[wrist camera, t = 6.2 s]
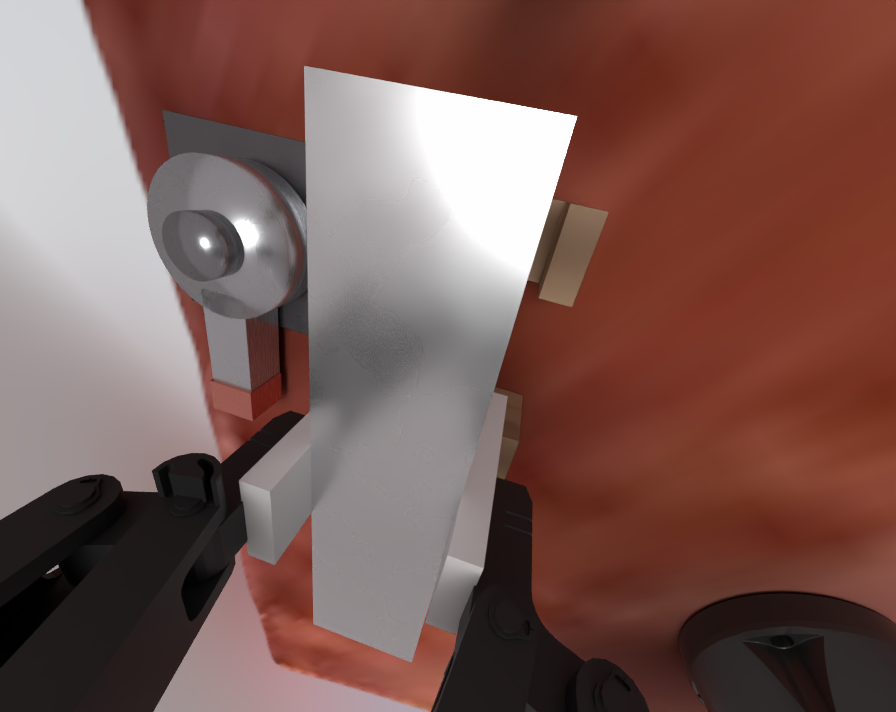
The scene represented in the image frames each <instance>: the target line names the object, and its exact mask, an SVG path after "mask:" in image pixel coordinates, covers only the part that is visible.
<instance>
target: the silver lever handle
mask: <svg viewBox="0 0 896 712" xmlns="http://www.w3.org/2000/svg"><path fill="white" fill-rule="evenodd" d="M147 210H148V221H149V227H150V231H151V235H152V238H153V241H154V244H155V247H156V249H157V251H158V253H159V256H160V258H161V259H162V261H163V263H164V265H165V267H166V268H167V270H168V271H169V273H170V274H171V276H172V277H173V278H174V280H175V281H176V282H177V283H178V284H179V286H180V287H181V288H182V289H183V290H184V291H185V292H186V293H187V294H188V295H189V296H190V297H191V298H193V299H194V300H195V301H197V302H198V303H199V304H200V305H202V306H203V308H204V315H205V322H206V329H207V336H208V343H209V351H210V358H211V365H212V372H213V379H212V380H210V384H211V391H212V398H213V405H214V408H215V409H218V410H221V411H224V412H227V413H230V414H233V415H236V416H239V417H242V418H245V419H248V420H251V421H253V420H255V419H256V418H257V417H258V416H260V415H261V414H262V413H263V412H265V411H266V410H267V409H268V408H270V407H271V406H272V405H274V404H275V403H276V402H277V401H279V400H280V399H281V398H282V392H281V373H280V365H279V336H278V307H281V306H283V305H285V304H287V303H290V302H292V301H294V300H296V299H297V298H299V297H300V296H301V295H302V294H303V293H304V292H305V291H306V290H307V289H308V265H307V209H306V207H305V205H304V203H303V202H302V200H301V198H300V197H299V195H298V194H297V193H296V191H295V190H294V189H293V187H292V186H291V185H290V184H289V183H288V182H287V181H286V180H285V179H284V178H283V177H281V176H280V175H279V174H278V173H277V172H275V171H274V170H272V169H271V168H269V167H268V166H266V165H263V164H261V163H259V162H257V161H253V160H250V159H244V158H237V157H229V156H221V155H212V154H204V153H184V154H179V155H177V156H174V157H172V158H170V159H169V160H167V161H166V162H165V163H163V165H162V166H161V167H160V168H159V169H158V170H157V172H156V174H155V175H154V177H153V180H152V182H151V185H150V189H149V193H148V202H147Z"/></svg>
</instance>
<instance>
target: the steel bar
mask: <svg viewBox="0 0 896 712" xmlns="http://www.w3.org/2000/svg"><path fill="white" fill-rule="evenodd" d="M304 84H305V144H306V205H307V265H308V325H309V385H310V445H311V505H312V565H313V624H315V625H317V626H320V627H322V628H325V629H327V630H330V631H332V632H335V633H338V634H340V635H343V636H345V637H348V638H350V639H353V640H355V641H358V642H361V643H363V644H366V645H368V646H371V647H373V648H376V649H378V650H381V651H383V652H386V653H389V654H391V655H394V656H396V657H399V658H401V659H404V660H406V661H409V662H411V663H412V659H413V656H414V653H415V649H416V646H417V643H418V640H419V636H420V633H421V630H422V626H423V623H424V620H425V616H426V613H427V610H428V607H429V603H430V600H431V597H432V593H433V590H434V587H435V583H436V579H437V575H438V572H439V568H440V564H441V560H442V557H443V554H444V550H445V547H446V544H447V541H448V538H449V535H450V532H451V529H452V526H453V522H454V519H455V516H456V513H457V510H458V507H459V504H460V501H461V497H462V494H463V491H464V488H465V484H466V481H467V478H468V474H469V471H470V468H471V464H472V461H473V458H474V455H475V451H476V448H477V445H478V441H479V438H480V435H481V431H482V428H483V425H484V422H485V418H486V415H487V412H488V408H489V405H490V402H491V398H492V395H493V392H494V388H495V385H496V382H497V379H498V375H499V372H500V369H501V365H502V362H503V359H504V355H505V352H506V349H507V346H508V342H509V339H510V336H511V332H512V329H513V326H514V322H515V319H516V316H517V313H518V309H519V306H520V303H521V299H522V296H523V293H524V289H525V286H526V283H527V279H528V276H529V273H530V270H531V266H532V263H533V260H534V256H535V253H536V250H537V246H538V243H539V240H540V237H541V233H542V230H543V227H544V223H545V220H546V217H547V213H548V210H549V207H550V204H551V200H552V197H553V194H554V190H555V187H556V184H557V180H558V177H559V174H560V170H561V167H562V164H563V161H564V157H565V154H566V151H567V147H568V144H569V141H570V137H571V134H572V131H573V128H574V124H575V121H576V118H577V116H572V115H566V114H561V113H556V112H550V111H545V110H539V109H534V108H529V107H523V106H518V105H512V104H507V103H502V102H496V101H491V100H486V99H480V98H475V97H469V96H464V95H459V94H453V93H448V92H442V91H437V90H432V89H426V88H421V87H415V86H410V85H405V84H399V83H394V82H388V81H383V80H378V79H372V78H367V77H361V76H356V75H351V74H345V73H340V72H335V71H329V70H324V69H318V68H313V67H308V66H304Z"/></svg>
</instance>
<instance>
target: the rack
mask: <svg viewBox="0 0 896 712" xmlns="http://www.w3.org/2000/svg"><path fill="white" fill-rule="evenodd" d="M608 213H609V212H606V211H602V210H598V209H594V208H590V207H586V206H581V205H577V204H573V203H568V202H564V201H560V200H555V199H552V200H551V204H550V207H549V210H548V213H547V217H546V220H545V223H544V227H543V230H542V233H541V237H540V240H539V243H538V246H537V250H536V253H535V256H534V260H533V263H532V266H531V270H530V273H529V276H528V279H527V280H528V281H532V282H536V283H538V286H539V299H543V300H547V301H551V302H555V303H558V304H562V305H566V306H570V307H572V305H573V303H574V300H575V297H576V295H577V292H578V290H579V287H580V285H581V282H582V280H583V277H584V274H585V272H586V269H587V267H588V264H589V262H590V259H591V256H592V254H593V251H594V249H595V246H596V244H597V241H598V238H599V236H600V233H601V231H602V228H603V226H604V223H605V220H606V218H607V215H608ZM494 392H495V393H498V394H501V395H505V396H508V398H507V405H506V412H505V419H504V426H503V434H502V441H501V448H500V455H499V462H498V469H497V476H496V477H498V478H501V479H504V480H505V477H506V474H507V472H508V469H509V467H510V464H511V462H512V459H513V457H514V454H515V451H516V449H517V446H518V444H519V439H520V425H521V411H522V397H523V395H521V394H517V393H514V392H511V391H507V390H504V389H501V388H497V387H495V388H494Z"/></svg>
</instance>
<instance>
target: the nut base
mask: <svg viewBox="0 0 896 712" xmlns="http://www.w3.org/2000/svg"><path fill="white" fill-rule="evenodd" d="M163 117H164V123H165V130H166V136H167V143H168V149H169V156H170V158H172V157H174V156H177V155H179V154H184V153H204V154H212V155H221V156H229V157H237V158H244V159H250V160H253V161H257V162H259V163H261V164H263V165H266V166H268V167H269V168H271V169H272V170H274V171H275V172H277V173H278V174H279V175H280V176H281V177H283V178H284V179H285V180H286V181H287V182H288V183H289V184H290V185H291V186H292V187H293V189H294V190H295V191H296V193H297V194H298V195H299V197H300V198H301V200H302V202H303V203H304V205H305V207H306V209H307V205H306V144H305V142H301V141H297V140H292V139H288V138H284V137H279V136H275V135H270V134H266V133H262V132H257V131H253V130H248V129H244V128H240V127H235V126H231V125H227V124H222V123H218V122H213V121H209V120H205V119H200V118H196V117H191V116H187V115H183V114H178V113H174V112H170V111H165V110H163ZM192 300H194V299H193V298H192ZM194 301H195V300H194ZM278 326H281V327H284V328H287V329H291V330H294V331H297V332H301V333H304V334H307V335H309V325H308V289H307V290H306V291H305V292H304V293H303V294H302V295H301V296H300V297H299V298H297V299H296V300H294V301H292V302H290V303H287V304H285V305H283V306H281V307H278Z"/></svg>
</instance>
